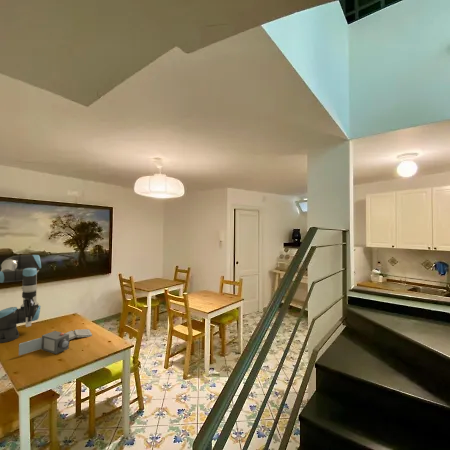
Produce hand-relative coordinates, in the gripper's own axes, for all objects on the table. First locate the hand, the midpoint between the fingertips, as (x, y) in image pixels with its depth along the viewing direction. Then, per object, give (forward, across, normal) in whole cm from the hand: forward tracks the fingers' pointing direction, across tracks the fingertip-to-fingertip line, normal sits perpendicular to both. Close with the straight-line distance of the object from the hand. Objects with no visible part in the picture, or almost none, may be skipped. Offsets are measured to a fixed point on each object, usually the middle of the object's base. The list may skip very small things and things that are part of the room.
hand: (28, 326), depth 168 cm
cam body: (+20, +6, +15) cm, 26 cm away
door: (+19, -2, +2) cm, 19 cm away
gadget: (+21, -7, +33) cm, 40 cm away
